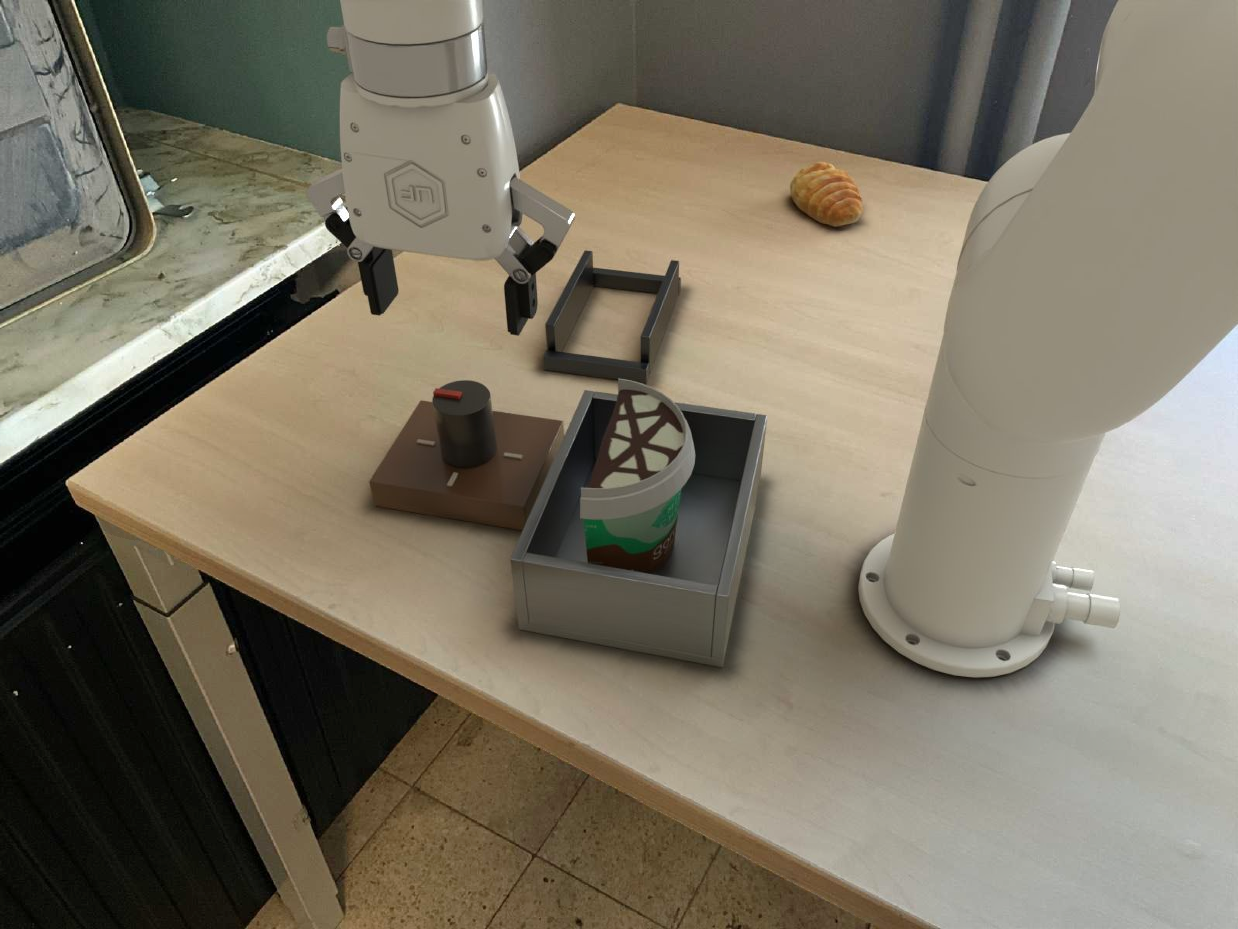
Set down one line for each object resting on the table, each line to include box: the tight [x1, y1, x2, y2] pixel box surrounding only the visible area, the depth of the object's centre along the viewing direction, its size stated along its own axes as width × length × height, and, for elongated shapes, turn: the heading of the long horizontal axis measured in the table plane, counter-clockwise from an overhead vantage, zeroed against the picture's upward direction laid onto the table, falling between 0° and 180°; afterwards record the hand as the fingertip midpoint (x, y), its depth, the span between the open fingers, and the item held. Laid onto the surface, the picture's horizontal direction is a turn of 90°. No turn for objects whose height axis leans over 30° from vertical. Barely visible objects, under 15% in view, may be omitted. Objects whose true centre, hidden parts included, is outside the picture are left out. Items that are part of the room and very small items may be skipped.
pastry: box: [789, 161, 864, 228], centre depth 107 cm, size 9×7×4 cm
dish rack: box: [542, 250, 682, 385], centre depth 91 cm, size 9×15×4 cm, turn 166°
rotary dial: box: [368, 399, 565, 531], centre depth 76 cm, size 12×10×3 cm
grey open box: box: [509, 389, 768, 668], centre depth 69 cm, size 14×18×7 cm
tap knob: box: [431, 379, 497, 468], centre depth 74 cm, size 4×4×5 cm
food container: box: [580, 378, 695, 574], centre depth 67 cm, size 12×6×10 cm, turn 168°
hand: (452, 314), depth 67 cm, fingers open, 9 cm apart
